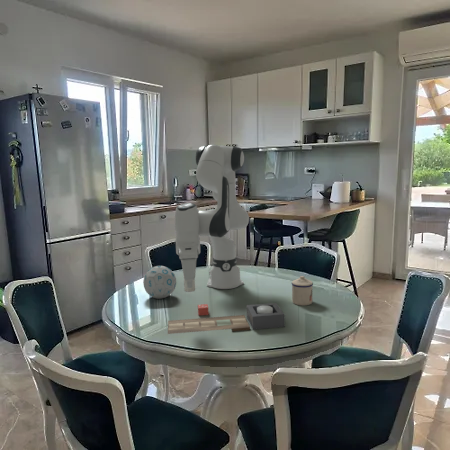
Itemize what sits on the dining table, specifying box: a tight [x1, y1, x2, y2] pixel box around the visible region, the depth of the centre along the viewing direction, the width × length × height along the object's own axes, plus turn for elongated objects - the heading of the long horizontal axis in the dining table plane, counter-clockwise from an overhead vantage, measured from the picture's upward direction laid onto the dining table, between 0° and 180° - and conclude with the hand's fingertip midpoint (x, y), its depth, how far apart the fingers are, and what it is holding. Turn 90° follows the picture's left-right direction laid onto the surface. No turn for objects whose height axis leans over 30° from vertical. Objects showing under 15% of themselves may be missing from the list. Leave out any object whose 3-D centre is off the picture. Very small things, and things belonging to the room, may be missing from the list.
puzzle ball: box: [143, 265, 177, 300], centre depth 177 cm, size 15×15×15 cm
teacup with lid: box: [291, 275, 314, 306], centre depth 167 cm, size 12×9×12 cm
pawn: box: [182, 275, 196, 293], centre depth 141 cm, size 4×4×6 cm
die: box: [197, 303, 210, 316], centre depth 154 cm, size 4×4×4 cm
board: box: [167, 314, 251, 335], centre depth 144 cm, size 12×30×1 cm, turn 97°
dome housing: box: [246, 302, 285, 331], centre depth 146 cm, size 12×12×5 cm
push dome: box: [257, 305, 273, 314], centre depth 146 cm, size 6×6×3 cm
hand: (189, 284), depth 141 cm, fingers closed on pawn, 4 cm apart
